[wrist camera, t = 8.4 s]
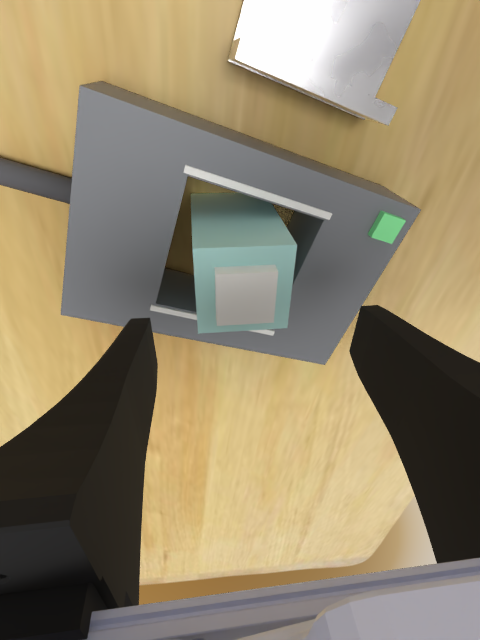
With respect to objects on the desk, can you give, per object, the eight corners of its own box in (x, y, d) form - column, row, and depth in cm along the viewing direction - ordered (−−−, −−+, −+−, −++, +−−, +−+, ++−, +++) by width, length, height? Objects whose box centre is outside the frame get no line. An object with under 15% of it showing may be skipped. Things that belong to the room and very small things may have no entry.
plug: (264, 192, 19) (301, 251, 13) (261, 259, 22) (290, 336, 16) (190, 193, 19) (192, 255, 13) (195, 261, 21) (198, 342, 15)
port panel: (383, 186, 20) (425, 212, 16) (307, 326, 25) (326, 369, 22) (101, 80, 16) (76, 85, 12) (80, 276, 21) (58, 319, 17)
